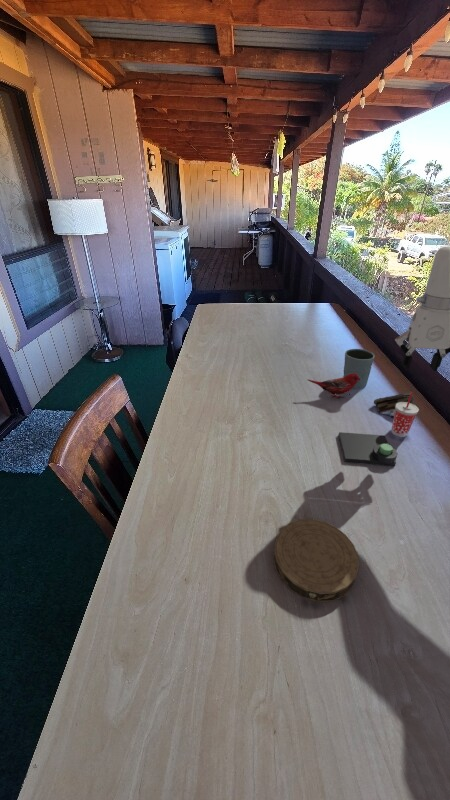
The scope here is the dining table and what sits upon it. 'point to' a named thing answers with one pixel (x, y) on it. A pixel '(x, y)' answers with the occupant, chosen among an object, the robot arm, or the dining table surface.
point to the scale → (365, 449)
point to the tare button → (385, 449)
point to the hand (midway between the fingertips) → (419, 367)
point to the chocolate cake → (391, 403)
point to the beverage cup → (403, 418)
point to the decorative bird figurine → (338, 384)
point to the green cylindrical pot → (358, 365)
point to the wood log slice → (315, 560)
